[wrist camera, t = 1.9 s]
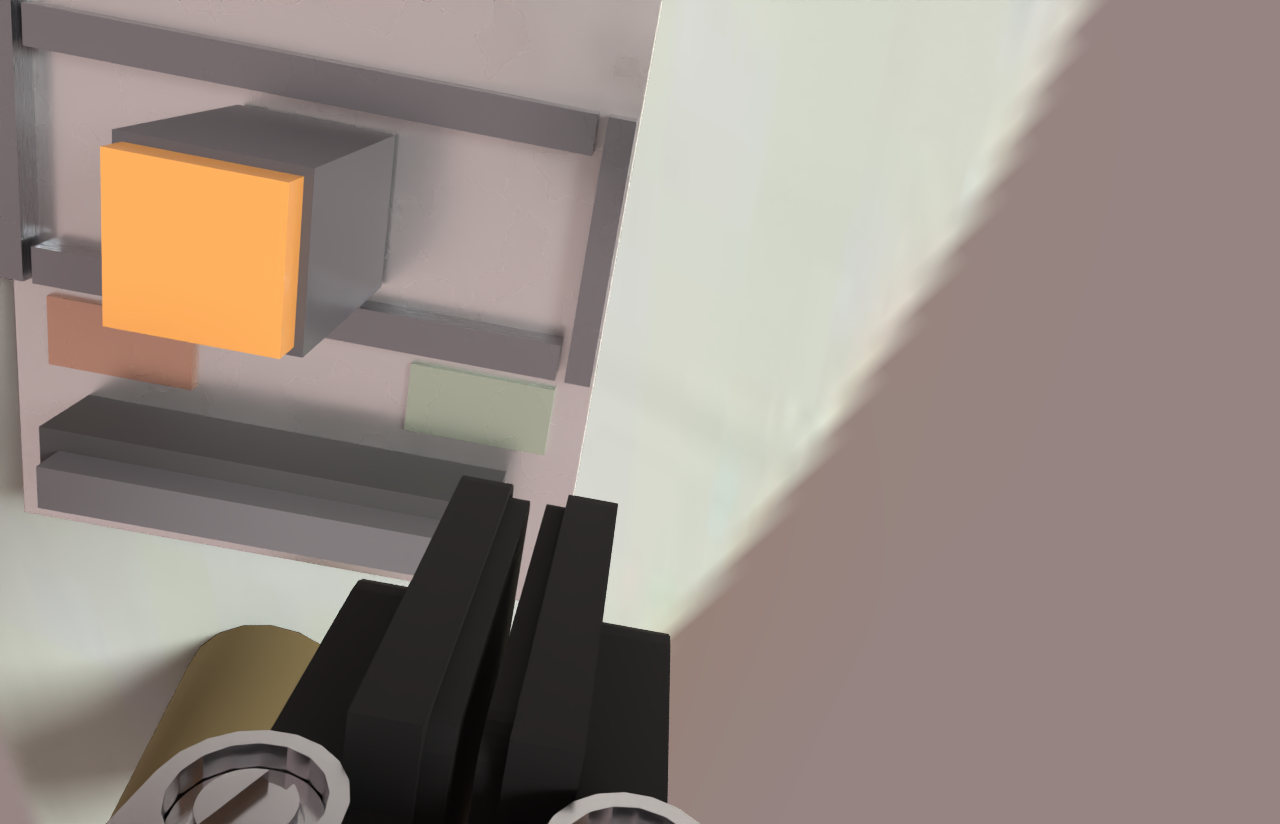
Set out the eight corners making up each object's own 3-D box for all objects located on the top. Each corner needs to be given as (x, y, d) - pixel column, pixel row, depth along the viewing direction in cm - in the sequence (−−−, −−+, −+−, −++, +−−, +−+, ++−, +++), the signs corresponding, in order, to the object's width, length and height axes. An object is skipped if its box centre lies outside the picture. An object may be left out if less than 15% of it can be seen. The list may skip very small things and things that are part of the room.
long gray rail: (76, -258, 23) (-23, -302, 20) (599, -151, 23) (586, -178, 20) (90, 470, 29) (19, 524, 26) (495, 543, 30) (473, 606, 27)
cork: (291, 797, 36) (138, 1104, 26) (151, 699, 35) (-69, 982, 25) (394, 699, 34) (273, 987, 24) (251, 592, 33) (58, 849, 23)
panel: (37, -342, 24) (-42, -385, 21) (699, -205, 24) (701, -231, 22) (63, 483, 32) (7, 524, 29) (560, 572, 32) (549, 621, 30)
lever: (237, 104, 25) (89, 133, 19) (395, 135, 25) (300, 174, 19) (232, 258, 27) (92, 333, 20) (381, 287, 27) (288, 370, 21)
